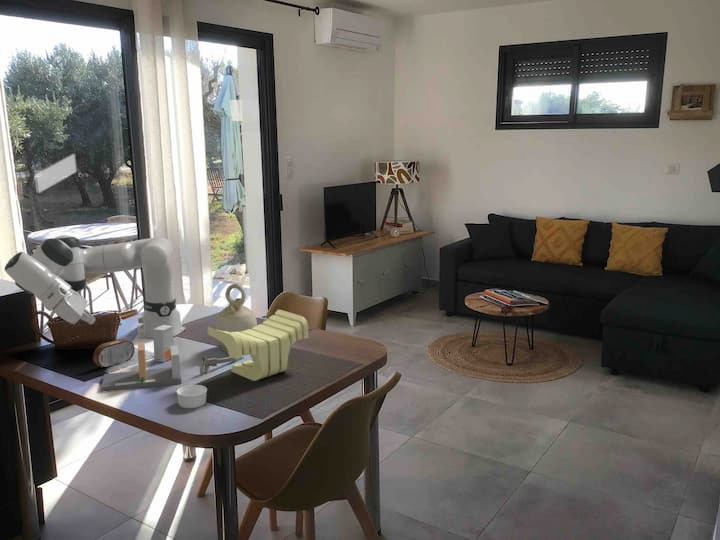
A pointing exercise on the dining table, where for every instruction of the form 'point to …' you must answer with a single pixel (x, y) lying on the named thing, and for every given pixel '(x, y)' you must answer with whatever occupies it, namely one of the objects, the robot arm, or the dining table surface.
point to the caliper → (214, 363)
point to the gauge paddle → (142, 361)
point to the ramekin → (192, 396)
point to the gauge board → (152, 376)
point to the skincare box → (162, 342)
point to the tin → (113, 352)
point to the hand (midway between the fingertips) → (93, 321)
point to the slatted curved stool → (264, 344)
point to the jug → (235, 315)
